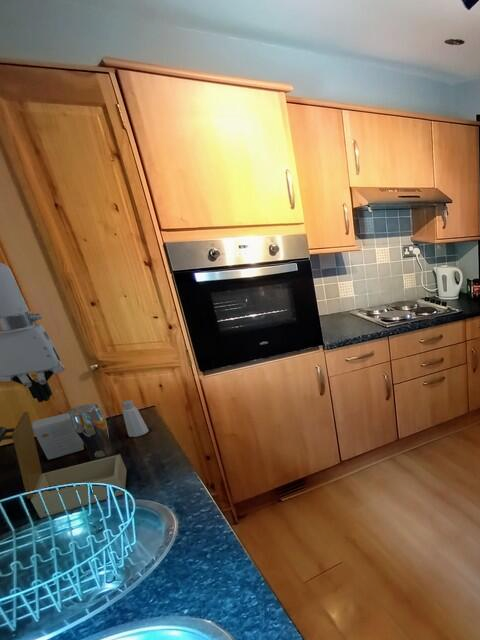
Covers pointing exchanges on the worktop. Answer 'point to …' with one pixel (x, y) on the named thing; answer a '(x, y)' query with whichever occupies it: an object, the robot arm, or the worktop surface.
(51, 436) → the small box
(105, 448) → the beer glass
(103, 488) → the open cream tray
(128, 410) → the pepper shaker
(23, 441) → the cover
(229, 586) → the worktop surface
